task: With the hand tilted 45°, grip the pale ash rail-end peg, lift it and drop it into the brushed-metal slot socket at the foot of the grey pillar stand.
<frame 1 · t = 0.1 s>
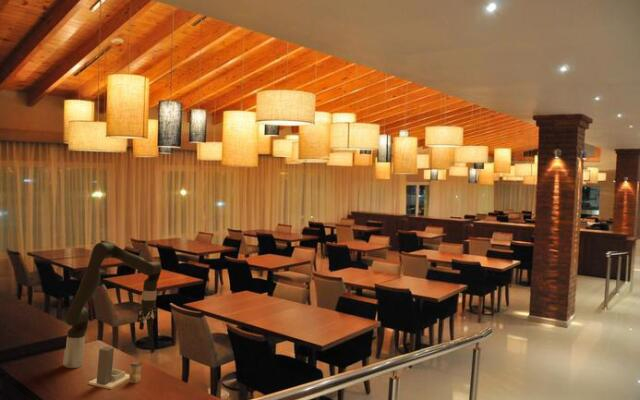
hand: (145, 327, 265), 29 cm above the table, tool pointing down, fingers open, 8 cm apart
grey pillar stand: (111, 380, 261), on the table
rail end: (134, 381, 263), on the table
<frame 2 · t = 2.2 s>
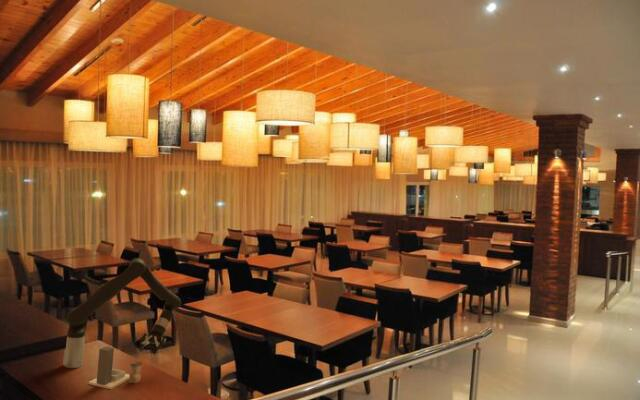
hand: (146, 352, 272), 13 cm above the table, tool tilted 45°, fingers open, 8 cm apart
nothing on the table moved.
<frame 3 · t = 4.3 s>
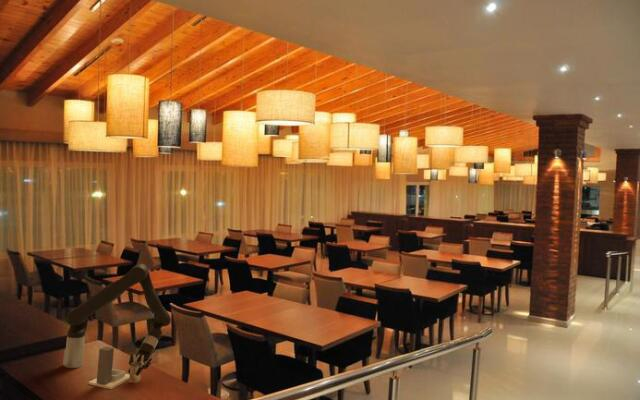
hand: (133, 374, 261), 5 cm above the table, tool tilted 45°, fingers closed on rail end, 4 cm apart
rail end: (134, 381, 263), on the table, touching gripper
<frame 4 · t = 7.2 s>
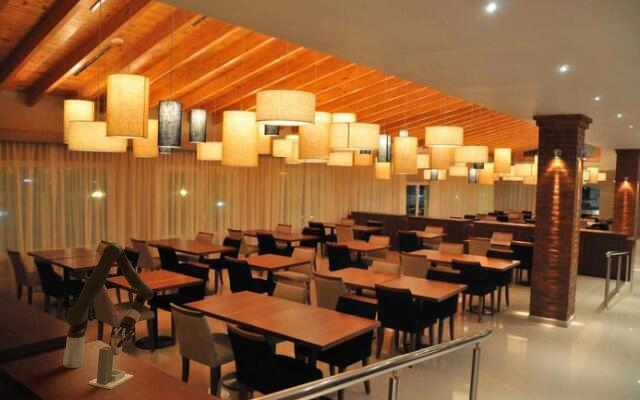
hand: (114, 346, 261), 19 cm above the table, tool tilted 45°, fingers closed on rail end, 4 cm apart
rail end: (116, 353, 263), point 14 cm above the table, touching gripper
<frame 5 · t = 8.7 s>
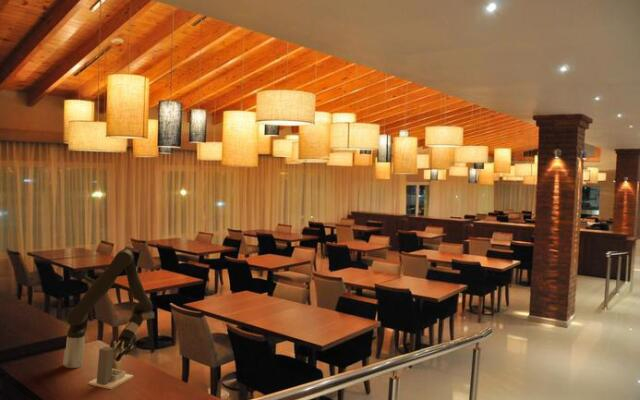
hand: (113, 360, 261), 11 cm above the table, tool tilted 45°, fingers closed on rail end, 4 cm apart
rail end: (115, 367, 263), point 7 cm above the table, touching gripper
when the fingers open (7 cm above the table, at t = 10.2 s): rail end stays where it is, resting on grey pillar stand.
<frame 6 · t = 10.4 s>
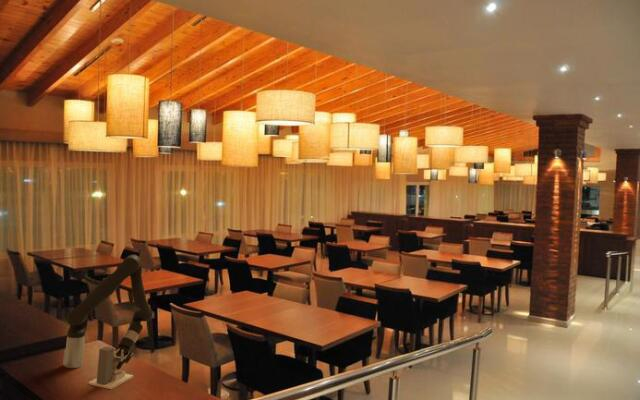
hand: (112, 367, 261), 7 cm above the table, tool tilted 45°, fingers open, 5 cm apart
rail end: (114, 377, 263), point 1 cm above the table, touching grey pillar stand
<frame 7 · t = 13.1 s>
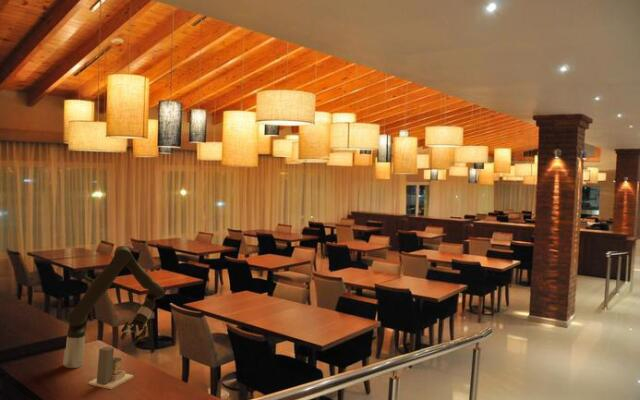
hand: (128, 341, 272), 18 cm above the table, tool tilted 45°, fingers open, 8 cm apart
nothing on the table moved.
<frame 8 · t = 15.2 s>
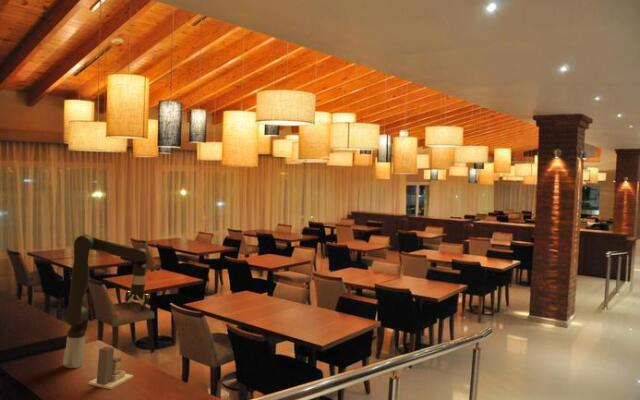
hand: (135, 310, 283), 33 cm above the table, tool pointing down, fingers open, 8 cm apart
nothing on the table moved.
at the end: rail end 0.1 cm from the target spot on the grey pillar stand, point 1.2 cm above the grey pillar stand's base; rail end tilted 0°; the gripper is holding nothing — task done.
